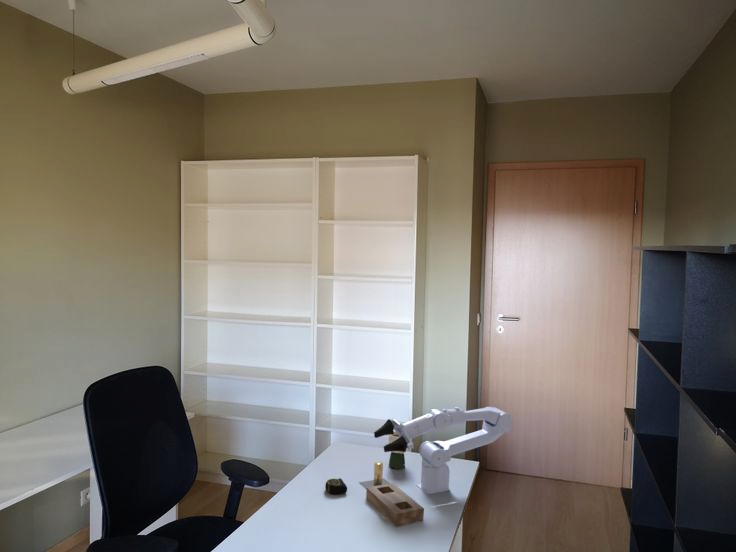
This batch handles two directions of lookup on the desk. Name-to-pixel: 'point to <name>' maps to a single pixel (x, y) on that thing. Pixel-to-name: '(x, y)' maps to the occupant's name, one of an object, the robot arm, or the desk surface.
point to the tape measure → (335, 486)
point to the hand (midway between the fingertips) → (379, 442)
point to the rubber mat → (372, 483)
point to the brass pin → (378, 473)
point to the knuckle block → (395, 504)
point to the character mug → (396, 454)
